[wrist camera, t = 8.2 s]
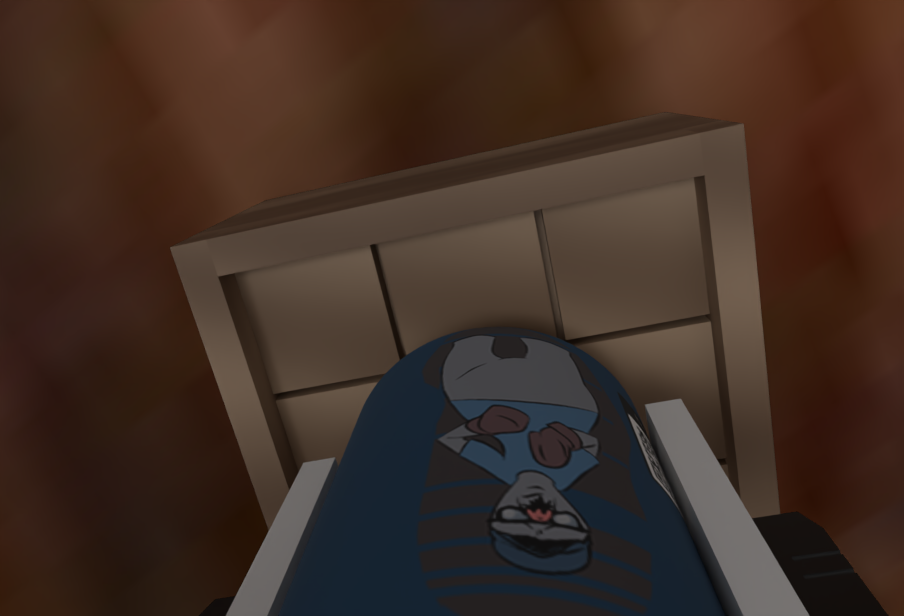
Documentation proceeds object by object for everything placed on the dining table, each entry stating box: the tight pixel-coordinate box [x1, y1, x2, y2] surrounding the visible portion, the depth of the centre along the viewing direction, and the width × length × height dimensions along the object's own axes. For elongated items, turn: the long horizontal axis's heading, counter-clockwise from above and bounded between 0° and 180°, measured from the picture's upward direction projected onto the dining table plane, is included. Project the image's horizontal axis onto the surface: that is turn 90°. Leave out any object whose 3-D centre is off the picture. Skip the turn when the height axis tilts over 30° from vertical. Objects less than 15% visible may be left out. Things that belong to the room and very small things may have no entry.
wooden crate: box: [170, 112, 780, 530], centre depth 20 cm, size 13×13×7 cm
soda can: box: [278, 327, 726, 616], centre depth 12 cm, size 7×7×12 cm
